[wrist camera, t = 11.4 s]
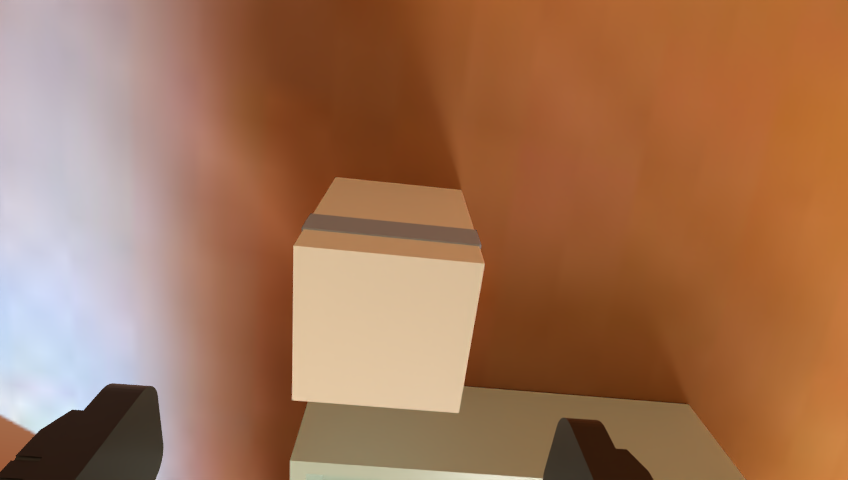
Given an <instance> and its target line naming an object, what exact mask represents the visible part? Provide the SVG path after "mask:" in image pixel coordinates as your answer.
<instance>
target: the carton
mask: <svg viewBox="0 0 848 480" xmlns="http://www.w3.org/2000/svg"><path fill="white" fill-rule="evenodd" d="M480 249H481V242H480V239H479V236H478V233H477V230H474V228H473V225H472V221H471V218H470V215H469V212H468V209H467V206H466V202H465V199H464V196H463V193H462V190H457V189H447V188H438V187H428V186H418V185H409V184H399V183H389V182H379V181H370V180H360V179H350V178H341V177H335V179H334V180H333V182H332V184H331V185H330V187H329V189H328V190H327V192H326V193H325V195H324V197H323V198H322V200H321V202H320V203H319V205H318V206H317V208H316V210H315V211H314V213H313V214H310V215H309V217H308V218H307V220H306V221H305V223H304V225H303V226H302V233H301V234H300V236H299V237H298V239H297V241H296V242H295V244H294V246H293V348H292V400H295V401H308V402H321V403H334V404H347V405H360V406H373V407H386V408H399V409H412V410H425V411H438V412H451V413H459V410H460V404H461V398H462V392H463V387H464V381H465V375H466V369H467V364H468V358H469V352H470V346H471V341H472V335H473V329H474V323H475V318H476V312H477V306H478V300H479V295H480V289H481V283H482V277H483V272H484V266H485V263H484V259H483V256H482V253H481V250H480Z"/></svg>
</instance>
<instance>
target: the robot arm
mask: <svg viewBox="0 0 848 480" xmlns="http://www.w3.org/2000/svg"><path fill="white" fill-rule="evenodd" d="M162 456H163V439H162V430H161V421H160V412H159V404H158V395H157V391H156V389H155V388H154V387H152V386H141V385H127V384H109V385H107V386H106V387H104V388H103V389H102V390H101V391H100V393H99V394H98V395H97V396H96V397H95V398H94V399H93V400H92V402H91V403H90V404H89V405H88V406H87V407H86V408H85V409H84V411H81V410H71V411H69V412H68V413H66V414H65V415H63V416H62V417H60V418H58V419H57V420H55V421H54V422H52V423H51V424H49V425H47V426H46V427H44V428H43V429H41V430H40V431H39V432H38V433H37V434H36V435H35V436H34V437H33V438H32V439H31V440H30V441H29V442H28V443H27V444H26V446H25V447H24V448H23V449H22V450H21V451H20V452H19V453H18V454H17V455H16V458H15V460H14V461H10V462H9V463H8V464H7V466H5V468H4V469H3V470H2V471H1V472H0V480H155V479H156V476H157V474H158V471H159V469H160V465H161V461H162ZM543 480H653V478H652V476H651V474H650V473H649V471H648V470H647V469H646V468H645V467H644V466H643V465H642V464H641V463H640V462H639V461H638V460H637V459H636V458H635V457H634V456H633V455H632V454H631V453H630V452H629V451H628V450H627V449H616V448H615V446H614V444H613V442H612V440H611V438H610V436H609V434H608V432H607V430H606V428H605V427H604V425H603V424H602V422H600V421H599V420H590V419H576V418H561V419H560V420H559V422H558V424H557V428H556V431H555V435H554V438H553V442H552V445H551V449H550V452H549V456H548V459H547V463H546V466H545V470H544V474H543Z"/></svg>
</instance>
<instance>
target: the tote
mask: <svg viewBox="0 0 848 480" xmlns="http://www.w3.org/2000/svg"><path fill="white" fill-rule="evenodd" d="M561 418H576V419H590V420H599V421H600V422H602V424H603V425H604V427H605V428H606V430H607V432H608V434H609V436H610V438H611V440H612V442H613V444H614V446H615V448H616V449H627V450H628V451H629V452H630V453H631V454H632V455H633V456H634V457H635V458H636V459H637V460H638V461H639V462H640V463H641V464H642V465H643V466H644V467H645V468H646V469H647V470H648V471H649V473H650V474H651V476H652V478H653V480H746V479H745V478H744V476H743V475H742V474H741V472H740V471H739V470H738V469H737V467H736V466H735V465H734V463H733V462H732V461H731V459H730V458H729V457H728V455H727V454H726V453H725V451H724V450H723V449H722V448H721V446H720V445H719V444H718V442H717V441H716V440H715V438H714V437H713V436H712V434H711V433H710V432H709V430H708V429H707V428H706V426H705V425H704V424H703V423H702V421H701V420H700V419H699V417H698V416H697V415H696V413H695V412H694V411H693V409H692V408H691V407H690V405H689V404H679V403H666V402H654V401H641V400H629V399H617V398H604V397H592V396H579V395H567V394H554V393H542V392H530V391H517V390H505V389H492V388H480V387H468V386H464V387H463V392H462V398H461V404H460V410H459V413H451V412H438V411H425V410H412V409H399V408H386V407H373V406H360V405H347V404H334V403H321V402H308V403H307V406H306V409H305V413H304V416H303V419H302V422H301V426H300V429H299V432H298V436H297V439H296V442H295V446H294V449H293V452H292V455H291V459H290V480H543V474H544V470H545V466H546V463H547V459H548V456H549V452H550V449H551V445H552V442H553V438H554V435H555V431H556V428H557V424H558V422H559V420H560V419H561Z"/></svg>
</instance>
